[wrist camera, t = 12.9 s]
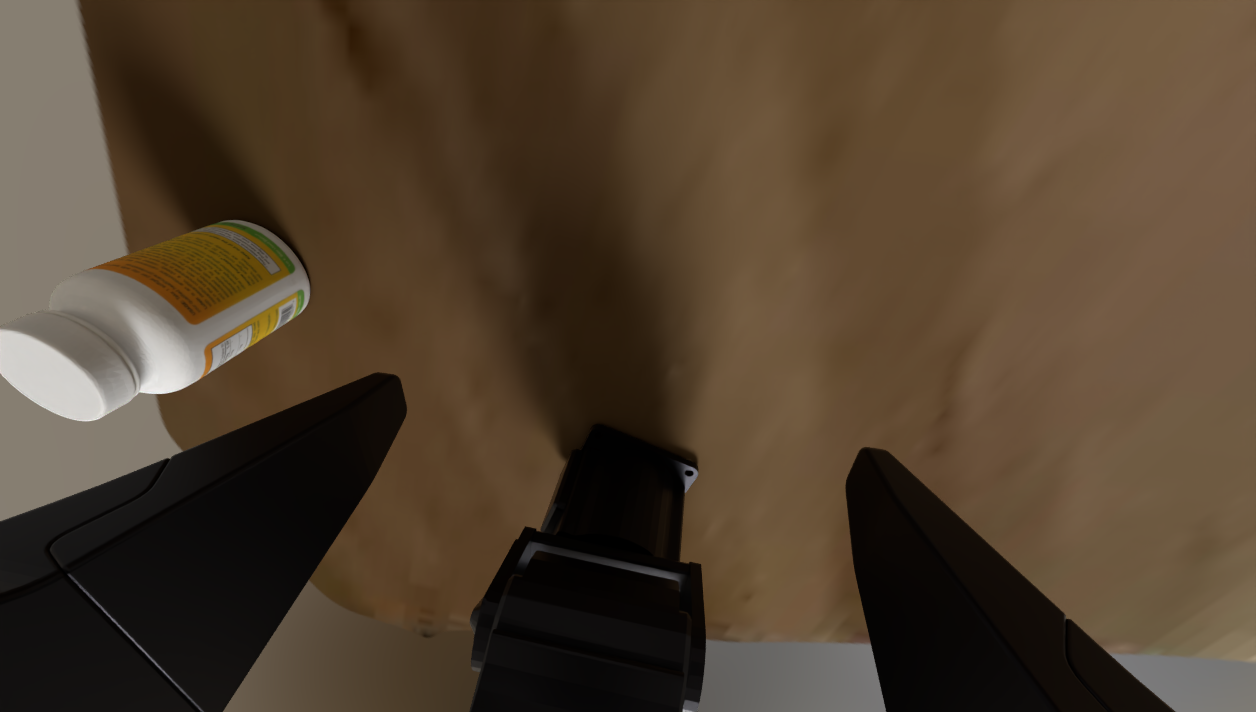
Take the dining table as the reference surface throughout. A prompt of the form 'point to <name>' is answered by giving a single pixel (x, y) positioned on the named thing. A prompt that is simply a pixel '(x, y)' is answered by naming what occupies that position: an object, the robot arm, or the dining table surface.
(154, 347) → the supplement bottle
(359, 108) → the dining table surface
